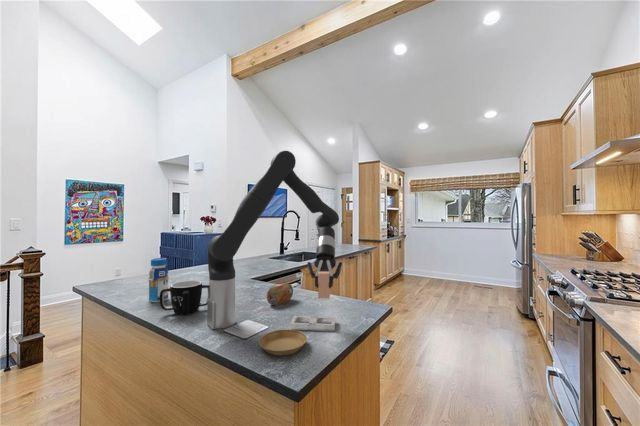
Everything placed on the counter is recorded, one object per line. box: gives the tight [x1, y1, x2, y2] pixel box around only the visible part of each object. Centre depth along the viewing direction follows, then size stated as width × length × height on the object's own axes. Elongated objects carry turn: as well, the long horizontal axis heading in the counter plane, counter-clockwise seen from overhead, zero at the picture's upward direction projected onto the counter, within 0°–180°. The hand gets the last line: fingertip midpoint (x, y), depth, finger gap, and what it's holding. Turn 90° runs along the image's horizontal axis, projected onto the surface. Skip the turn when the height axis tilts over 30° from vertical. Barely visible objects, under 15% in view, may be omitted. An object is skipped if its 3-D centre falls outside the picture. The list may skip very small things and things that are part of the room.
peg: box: [317, 271, 331, 299], centre depth 100 cm, size 4×4×9 cm
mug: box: [159, 280, 209, 316], centre depth 115 cm, size 16×16×12 cm
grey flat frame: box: [289, 315, 336, 332], centre depth 100 cm, size 16×8×2 cm, turn 85°
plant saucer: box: [258, 328, 308, 357], centre depth 84 cm, size 15×15×3 cm
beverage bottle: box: [148, 257, 170, 303], centre depth 132 cm, size 8×8×20 cm
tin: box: [266, 282, 294, 307], centre depth 127 cm, size 15×3×8 cm, turn 143°
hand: (323, 287), depth 98 cm, fingers closed on peg, 4 cm apart
